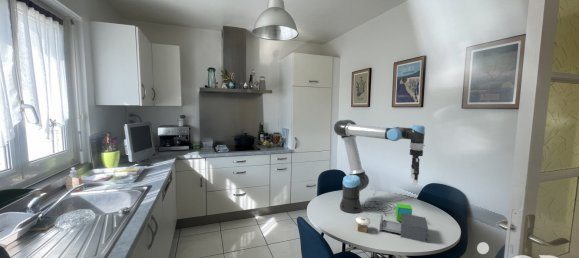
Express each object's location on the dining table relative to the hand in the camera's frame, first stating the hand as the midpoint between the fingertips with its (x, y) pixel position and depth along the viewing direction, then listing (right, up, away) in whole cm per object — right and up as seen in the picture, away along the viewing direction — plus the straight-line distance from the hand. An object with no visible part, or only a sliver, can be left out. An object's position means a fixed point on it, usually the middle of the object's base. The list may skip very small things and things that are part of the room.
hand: (413, 181), depth 153 cm
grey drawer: (-20, -26, -13) cm, 35 cm away
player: (-10, -26, -17) cm, 33 cm away
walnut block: (-38, -26, -14) cm, 48 cm away
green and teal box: (-7, -25, +1) cm, 26 cm away
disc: (-38, -21, -14) cm, 46 cm away
